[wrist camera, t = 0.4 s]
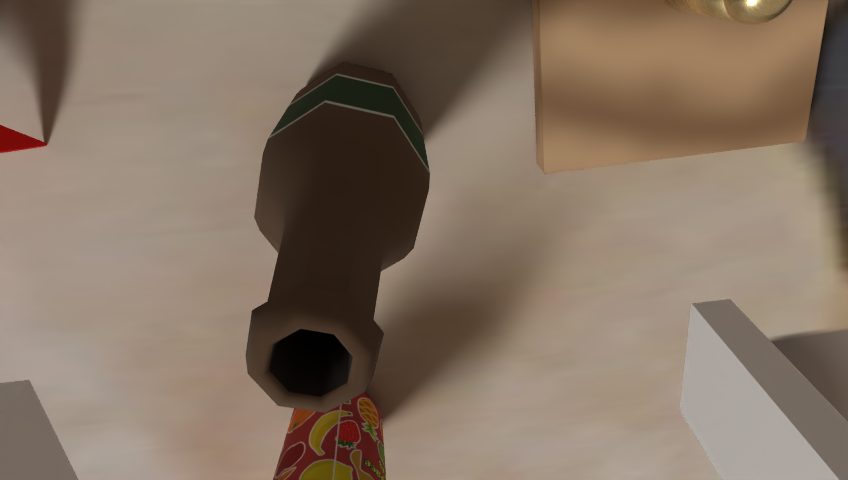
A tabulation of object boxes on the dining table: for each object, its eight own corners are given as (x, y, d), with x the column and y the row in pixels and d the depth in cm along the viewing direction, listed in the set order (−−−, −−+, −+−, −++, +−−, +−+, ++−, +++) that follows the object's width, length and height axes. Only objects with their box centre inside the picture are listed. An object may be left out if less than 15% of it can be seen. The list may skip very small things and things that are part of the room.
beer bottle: (408, 47, 35) (438, 205, 14) (428, 172, 39) (477, 455, 17) (277, 70, 36) (104, 259, 14) (309, 192, 39) (208, 497, 17)
